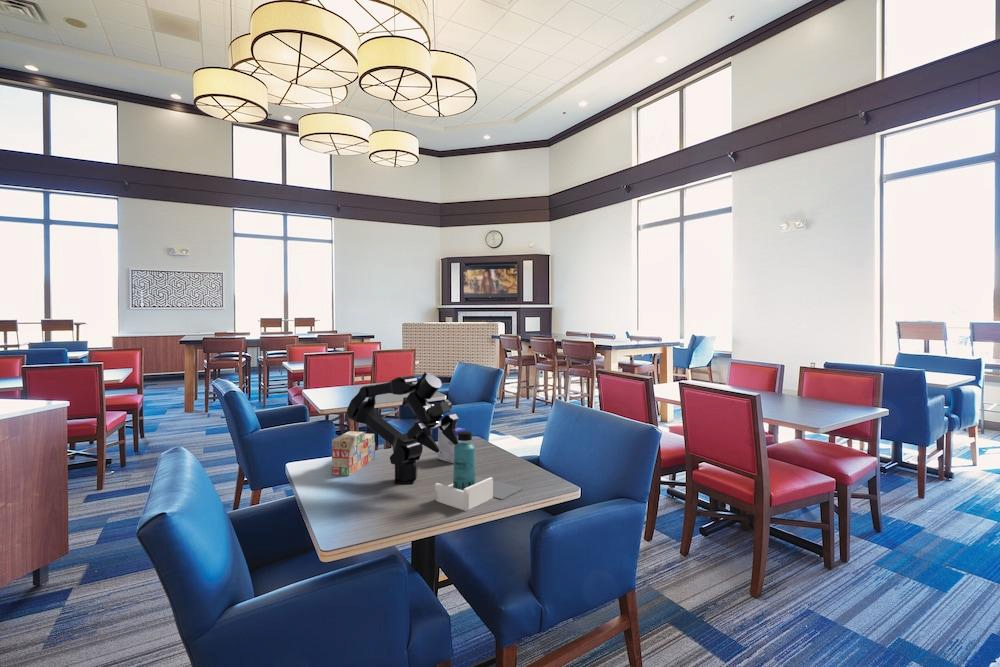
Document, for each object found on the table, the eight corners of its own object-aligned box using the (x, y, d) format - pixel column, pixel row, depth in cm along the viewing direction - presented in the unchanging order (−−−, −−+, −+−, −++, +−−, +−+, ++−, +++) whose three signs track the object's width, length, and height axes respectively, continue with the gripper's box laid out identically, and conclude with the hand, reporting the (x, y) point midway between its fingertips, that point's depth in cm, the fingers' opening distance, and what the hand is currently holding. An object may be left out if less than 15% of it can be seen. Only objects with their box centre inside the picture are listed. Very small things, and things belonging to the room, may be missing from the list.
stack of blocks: (359, 457, 180) (359, 425, 180) (375, 458, 179) (375, 425, 179) (331, 475, 159) (331, 439, 159) (349, 476, 158) (348, 440, 158)
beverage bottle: (454, 495, 142) (454, 429, 141) (476, 495, 142) (476, 429, 141) (451, 503, 135) (451, 434, 135) (474, 504, 135) (474, 434, 134)
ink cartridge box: (466, 461, 175) (466, 422, 175) (455, 464, 171) (455, 425, 171) (447, 456, 182) (447, 418, 181) (437, 459, 178) (437, 421, 177)
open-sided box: (435, 500, 137) (435, 480, 137) (462, 489, 147) (462, 469, 147) (466, 511, 130) (466, 489, 130) (492, 498, 140) (493, 477, 139)
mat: (456, 486, 149) (456, 485, 149) (478, 477, 158) (478, 476, 158) (502, 499, 138) (502, 498, 138) (523, 489, 147) (523, 488, 147)
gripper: (414, 396, 138) (442, 439, 132) (454, 388, 154) (481, 426, 148) (395, 419, 143) (421, 461, 137) (435, 409, 158) (461, 447, 153)
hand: (448, 448), depth 144 cm, fingers open, 9 cm apart
